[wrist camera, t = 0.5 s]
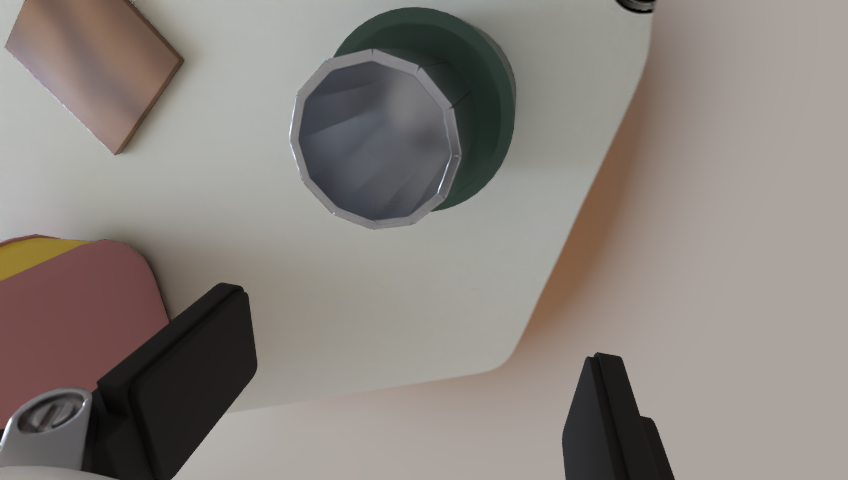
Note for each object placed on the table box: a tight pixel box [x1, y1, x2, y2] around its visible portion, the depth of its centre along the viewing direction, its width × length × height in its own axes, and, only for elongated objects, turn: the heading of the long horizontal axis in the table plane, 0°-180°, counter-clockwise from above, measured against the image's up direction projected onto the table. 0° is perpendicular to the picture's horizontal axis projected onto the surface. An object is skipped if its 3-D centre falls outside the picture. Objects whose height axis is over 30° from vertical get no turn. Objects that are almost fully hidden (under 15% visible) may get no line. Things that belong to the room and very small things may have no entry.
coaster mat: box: [5, 0, 184, 155], centre depth 35 cm, size 12×12×1 cm
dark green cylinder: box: [333, 7, 516, 212], centre depth 27 cm, size 10×10×10 cm
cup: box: [289, 49, 478, 230], centre depth 19 cm, size 7×7×7 cm
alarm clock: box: [0, 234, 169, 429], centre depth 38 cm, size 18×11×19 cm, turn 2°
